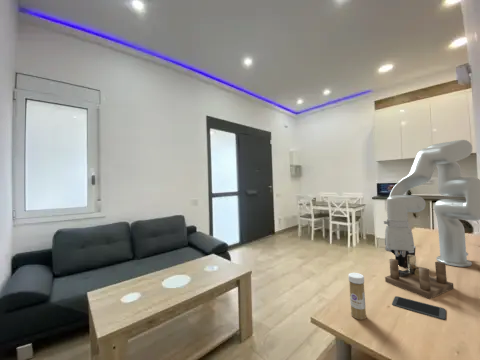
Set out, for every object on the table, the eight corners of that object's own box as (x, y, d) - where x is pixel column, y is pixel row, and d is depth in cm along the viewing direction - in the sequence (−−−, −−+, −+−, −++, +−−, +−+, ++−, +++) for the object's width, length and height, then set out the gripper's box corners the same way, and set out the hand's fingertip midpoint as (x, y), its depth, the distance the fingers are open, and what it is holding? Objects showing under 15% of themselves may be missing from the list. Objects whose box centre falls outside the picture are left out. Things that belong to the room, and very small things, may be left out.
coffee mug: (421, 269, 103) (419, 248, 103) (400, 269, 105) (399, 248, 105) (407, 260, 115) (406, 241, 115) (389, 260, 116) (388, 241, 116)
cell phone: (445, 321, 67) (445, 319, 67) (391, 306, 77) (391, 304, 77) (446, 310, 72) (445, 308, 72) (395, 297, 82) (395, 295, 82)
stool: (408, 273, 100) (407, 252, 100) (453, 288, 85) (451, 263, 85) (385, 281, 94) (383, 259, 94) (429, 299, 79) (427, 272, 79)
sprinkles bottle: (349, 317, 71) (346, 275, 72) (352, 310, 75) (350, 271, 75) (365, 322, 69) (362, 279, 69) (368, 314, 72) (365, 274, 72)
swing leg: (411, 270, 98) (410, 254, 98) (418, 272, 95) (417, 256, 95) (395, 274, 95) (394, 257, 95) (402, 277, 92) (400, 260, 92)
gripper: (380, 224, 98) (382, 266, 97) (421, 226, 92) (424, 269, 92) (376, 222, 105) (378, 260, 104) (415, 222, 99) (417, 263, 99)
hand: (400, 264), depth 98 cm, fingers closed
